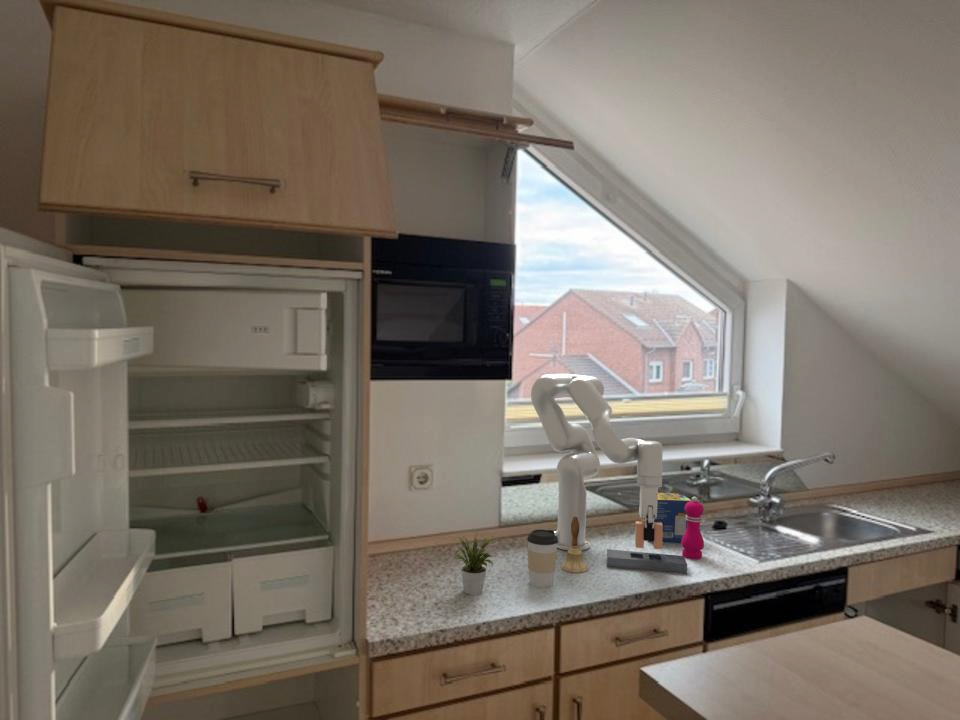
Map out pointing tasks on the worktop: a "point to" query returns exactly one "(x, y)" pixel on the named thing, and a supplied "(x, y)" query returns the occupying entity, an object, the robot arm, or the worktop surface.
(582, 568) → the hand bell
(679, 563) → the rail
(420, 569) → the worktop surface
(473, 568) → the house plant
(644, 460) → the robot arm
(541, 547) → the coffee cup
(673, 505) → the protein box
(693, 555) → the pepper mill
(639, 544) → the peach arch block
